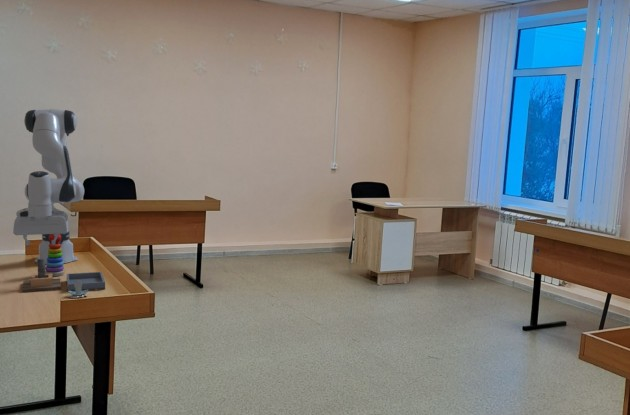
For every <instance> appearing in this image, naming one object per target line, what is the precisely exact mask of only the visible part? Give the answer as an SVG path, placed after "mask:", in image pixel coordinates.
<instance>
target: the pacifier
mask: <svg viewBox="0 0 630 415" xmlns="http://www.w3.org/2000/svg"><path fill="white" fill-rule="evenodd" d="M74 287H75V291H74V292H73V291H68V290H67V293H69V294H70V295H69V298H70V299H79V298H78V297H77V296H79V297H82V295H84V296H86V295H87V293H88V292H89V291H88V289H87V290H84V291H81V287H82V282H81V281H80V280H77V281H76V282H75V283H74Z"/></svg>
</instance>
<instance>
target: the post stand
mask: <svg viewBox="0 0 630 415" xmlns="http://www.w3.org/2000/svg"><path fill="white" fill-rule="evenodd" d="M45 267H46V264H45V259H38V262H37V274H38V278H46V276H45V271H46V270H45ZM61 283H62V282H61V278H60V277H59V278H53V286H37V287H31V279H28V280H27V279H26V280H23V282H22V288H21V291H22V293H32V292H34V293H35V292H48V291H49V292H50V291H61V290H62V284H61Z"/></svg>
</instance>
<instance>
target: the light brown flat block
mask: <svg viewBox="0 0 630 415" xmlns="http://www.w3.org/2000/svg"><path fill="white" fill-rule="evenodd" d="M45 276H46V278H38V273H37V274H31V275H30V280H31V287H37V286H53V279H54V278H53V277H54V276H52V274H45Z"/></svg>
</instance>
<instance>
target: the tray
mask: <svg viewBox="0 0 630 415" xmlns="http://www.w3.org/2000/svg"><path fill="white" fill-rule="evenodd" d="M77 280H80V281H81V282H82V287H81V292H82V291H84V290H87V289H88V290H89V291H96V290H95V289H98V290H97V291H101V290H106V281H105V278H104V275H103V272H102V271H93V272H91V271H90V272H79V273H78V272H76V273H75V272H74V273H66V286H67V292H68V291H73V292H75V287H74V283H75V282H76V281H77Z"/></svg>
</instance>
